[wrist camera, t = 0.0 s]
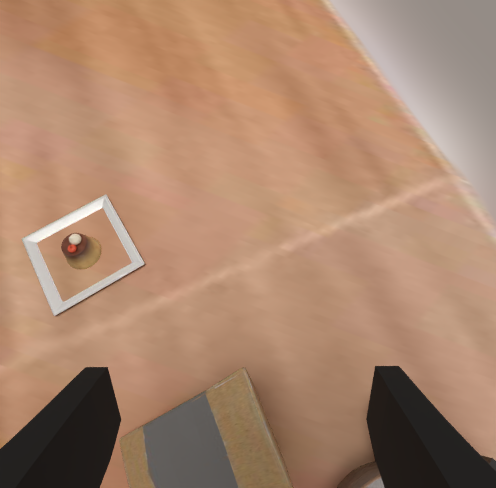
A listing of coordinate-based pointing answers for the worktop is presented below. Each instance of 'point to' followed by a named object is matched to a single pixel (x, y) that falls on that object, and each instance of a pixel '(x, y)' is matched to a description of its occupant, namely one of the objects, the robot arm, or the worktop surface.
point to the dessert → (79, 252)
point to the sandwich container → (208, 443)
